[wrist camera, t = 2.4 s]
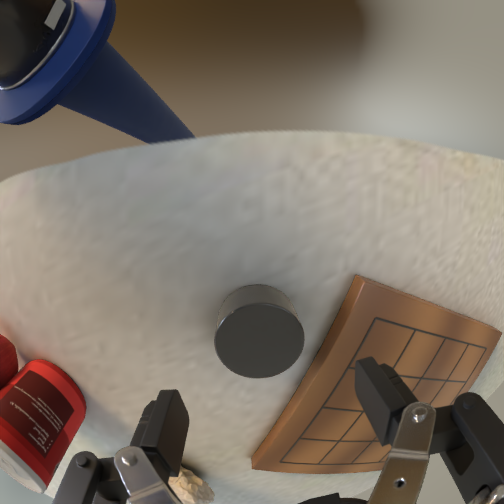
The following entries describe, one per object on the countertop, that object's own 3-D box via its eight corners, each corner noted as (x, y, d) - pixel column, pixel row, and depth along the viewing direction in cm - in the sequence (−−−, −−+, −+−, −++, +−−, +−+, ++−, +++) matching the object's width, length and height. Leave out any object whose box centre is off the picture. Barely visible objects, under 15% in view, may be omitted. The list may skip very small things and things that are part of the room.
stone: (205, 463, 26) (239, 515, 17) (132, 502, 21) (147, 556, 12) (167, 428, 24) (191, 486, 15) (89, 470, 19) (91, 529, 10)
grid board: (251, 457, 21) (251, 469, 19) (355, 274, 17) (365, 281, 16) (399, 459, 23) (403, 467, 22) (494, 327, 19) (503, 333, 18)
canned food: (42, 406, 19) (-2, 468, 9) (19, 347, 18) (-46, 408, 7) (97, 427, 20) (60, 506, 9) (77, 367, 18) (12, 454, 7)
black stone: (209, 340, 18) (203, 366, 15) (232, 273, 17) (230, 290, 14) (278, 359, 18) (283, 386, 15) (307, 297, 17) (319, 318, 14)
